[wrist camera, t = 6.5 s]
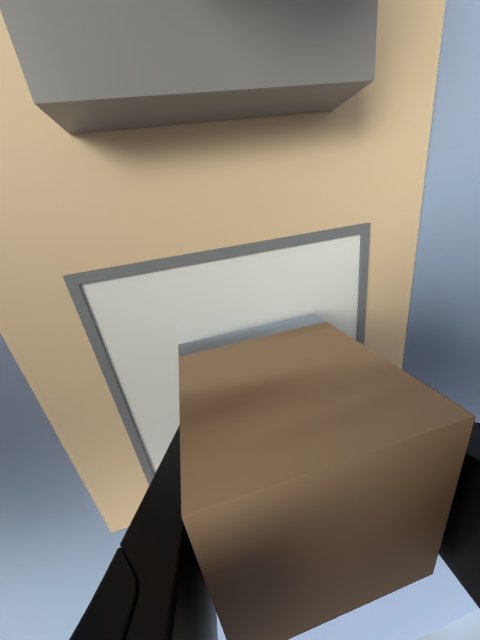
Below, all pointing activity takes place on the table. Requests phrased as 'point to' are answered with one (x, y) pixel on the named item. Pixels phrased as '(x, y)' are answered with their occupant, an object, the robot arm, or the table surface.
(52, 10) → the button housing
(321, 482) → the block
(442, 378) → the table surface
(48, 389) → the tan rectangular board
